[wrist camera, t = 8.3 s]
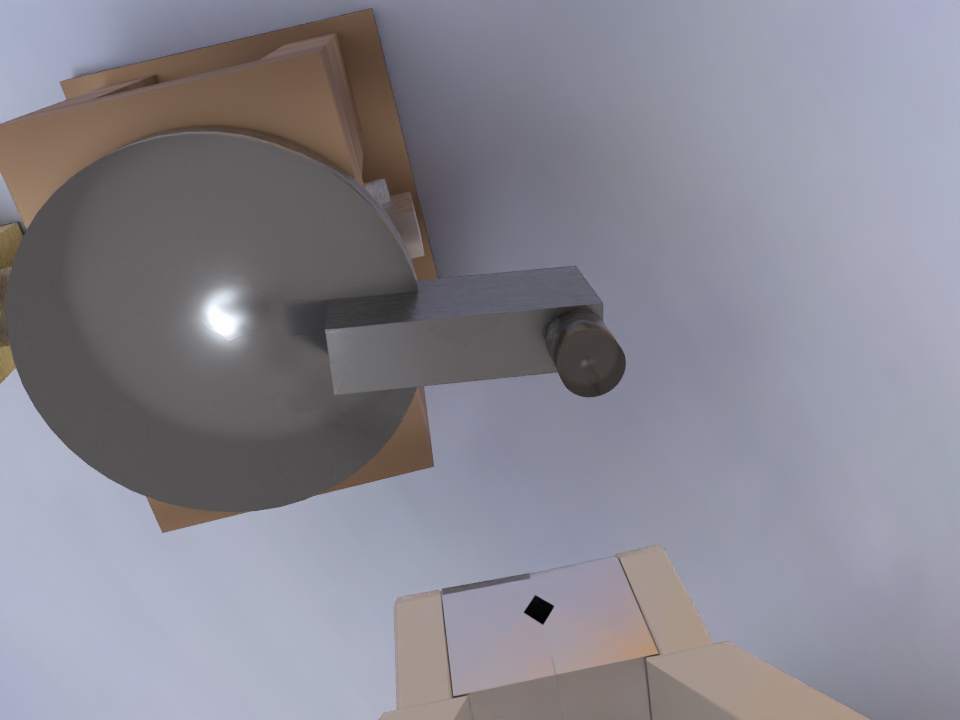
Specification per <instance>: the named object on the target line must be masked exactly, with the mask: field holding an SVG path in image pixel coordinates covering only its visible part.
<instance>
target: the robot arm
mask: <svg viewBox="0 0 960 720" xmlns="http://www.w3.org/2000/svg"><path fill="white" fill-rule="evenodd" d="M394 629H395V663H396V696H397V710H395V711H390V712H386V713H383V714H382V715H381V717H380V718H379V720H870V719H868V718H866V717H864V716H863V715H861V714H859V713H857V712H855V711H853V710H852V709H850V708H848V707H846V706H844V705H843V704H841V703H839V702H837V701H835V700H834V699H832V698H830V697H828V696H826V695H824V694H823V693H821V692H819V691H817V690H815V689H814V688H812V687H810V686H808V685H806V684H804V683H803V682H801V681H799V680H797V679H795V678H794V677H792V676H790V675H788V674H786V673H785V672H783V671H781V670H779V669H777V668H775V667H774V666H772V665H770V664H768V663H766V662H765V661H763V660H761V659H759V658H757V657H756V656H754V655H752V654H750V653H748V652H746V651H745V650H743V649H741V648H739V647H737V646H736V645H734V644H732V643H730V642H722V643H717V644H714V642H713V640H712V638H711V637H710V635H709V633H708V631H707V629H706V627H705V625H704V623H703V621H702V619H701V618H700V616H699V614H698V612H697V610H696V608H695V606H694V604H693V602H692V600H691V599H690V597H689V595H688V593H687V591H686V589H685V587H684V585H683V583H682V581H681V580H680V578H679V576H678V574H677V572H676V570H675V568H674V566H673V564H672V562H671V561H670V559H669V557H668V555H667V553H666V551H665V549H664V548H662V547H661V546H659V545H654V546H650V547H646V548H641V549H637V550H633V551H628V552H624V553H619V554H616V555H615V556H612V557H607V558H603V559H598V560H593V561H588V562H583V563H578V564H574V565H569V566H564V567H559V568H554V569H550V570H545V571H540V572H535V573H530V574H529V573H528V574H522V575H517V576H511V577H506V578H500V579H495V580H489V581H483V582H478V583H472V584H467V585H461V586H456V587H450V588H444V589H442V592H441V591H439V590H436V591H431V592H425V593H420V594H415V595H410V596H404V597H399V598H396V602H395V605H394Z"/></svg>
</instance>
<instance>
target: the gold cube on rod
mask: <svg viewBox="0 0 960 720" xmlns="http://www.w3.org/2000/svg"><path fill="white" fill-rule="evenodd" d="M364 187H365V189H366V190H367V191H368V192H369V193H370V194H371V195H372V197H373V198H374V199H375V200H376V201H377V203H378V204H379V205H380V206H381V207H382V209H383V210H384V211H385V212H386V213H387V215H388V216H389V218H390V220H391V221H392V223H393V224H394V226H395V227H396V229H397V231H398V232H399V234H400V235H401V238H402V240H403V242H404V244H405V246H406V248H407V251H408V253H409V255H410V257H411V259H413V258H417V257H421V256H425V254H424V249H423V244H422V239H421V233H420V229H419V225H418V221H417V217H416V213H415V209H414V205H413V201H412V197H411V193H410V192H405V193H401V194H397V195H393V196H390V193H389V189H388V186H387V182H386V180H385V178H383V179H379V180H375V181H370V182H366V183H364ZM22 237H23V235H22V232H21V230H20V228H19V226H18V224H17V222H16V223H12V224H8V225H4V226H0V384H1V383H2V382H3V381H4V379H5V378H6V377H7V376H8V375H9V374H10V373H11V372H12V371H13V370H14V369H15V368H16V366H15V363H14V360H13V356H12V351H11V347H10V343H9V338H8V330H7V318H6V302H7V288H8V281H9V277H10V273H11V268H12V264H13V260H14V257H15V255H16V252H17V250H18V247H19V245H20V242H21V240H22Z"/></svg>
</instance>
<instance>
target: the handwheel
mask: <svg viewBox="0 0 960 720" xmlns="http://www.w3.org/2000/svg"><path fill="white" fill-rule="evenodd" d="M6 318H7V330H8V338H9V343H10V347H11V351H12V356H13V360H14V363H15V366H16V368H17V371H18V374H19V376H20V379H21V381H22V384H23V386H24V388H25V390H26V392H27V393H28V395H29V397H30V399H31V401H32V403H33V404H34V406H35V408H36V409H37V411H38V412H39V413H40V415H41V416H42V418H43V419H44V420H45V422H46V423H47V425H48V426H49V427H50V429H51V430H52V431H53V432H54V433H55V434H56V435H57V436H58V437H59V438H60V439H61V440H62V442H63V443H64V444H65V445H66V446H67V447H68V448H69V449H70V450H72V451H73V452H74V453H75V454H76V455H77V456H79V457H80V458H81V459H82V460H83V461H85V462H86V463H87V464H88V465H90V466H91V467H93V468H94V469H95V470H97V471H98V472H100V473H101V474H103V475H104V476H106V477H107V478H109V479H111V480H113V481H114V482H116V483H118V484H120V485H122V486H124V487H126V488H128V489H130V490H132V491H134V492H137V493H139V494H142V495H144V496H147V497H150V498H152V499H155V500H157V501H161V502H165V503H169V504H172V505H176V506H180V507H185V508H191V509H197V510H204V511H217V512H244V511H258V510H264V509H270V508H276V507H281V506H285V505H288V504H292V503H295V502H299V501H302V500H305V499H307V498H310V497H312V496H315V495H317V494H319V493H322V492H324V491H326V490H328V489H330V488H332V487H333V486H335V485H337V484H339V483H340V482H342V481H344V480H346V479H347V478H348V477H350V476H351V475H352V474H354V473H355V472H357V471H358V470H359V469H361V468H362V467H363V466H365V465H366V464H367V463H368V462H369V461H370V460H371V459H372V458H373V457H374V456H375V455H376V454H377V453H378V452H379V451H380V450H381V449H382V448H383V447H384V445H385V444H386V443H387V442H388V440H389V439H390V438H391V437H392V435H393V434H394V433H395V431H396V430H397V428H398V426H399V425H400V423H401V421H402V420H403V418H404V416H405V415H406V413H407V411H408V409H409V406H410V404H411V402H412V399H413V397H414V395H415V392H416V389H417V387H419V386H429V385H438V384H448V383H458V382H468V381H478V380H487V379H497V378H507V377H517V376H527V375H536V374H546V373H556V372H558V373H559V376H560V378H561V380H562V382H563V383H564V385H565V386H566V388H567V389H569V390H570V391H571V392H572V393H574V394H576V395H579V396H583V397H596V396H600V395H603V394H605V393H607V392H609V391H610V390H612V389H613V388H614V387H615V386H616V385H617V384H618V383H619V381H620V380H621V378H622V376H623V374H624V371H625V365H626V361H625V355H624V353H623V351H622V349H621V347H620V346H619V344H618V343H617V341H616V340H615V339H614V337H613V336H612V334H611V333H610V331H609V330H608V328H607V327H606V325H605V324H604V323H603V302H602V301H601V300H600V298H599V297H598V296H597V294H596V293H595V291H594V290H593V289H592V287H591V286H590V285H589V283H588V282H587V281H586V279H585V278H584V276H583V275H582V274H581V272H580V271H579V270H578V268H577V267H576V266H569V267H558V268H547V269H536V270H525V271H514V272H503V273H492V274H482V275H471V276H460V277H449V278H438V279H427V280H417V276H416V273H415V270H414V267H413V263H412V260H411V257H410V255H409V253H408V251H407V248H406V246H405V244H404V242H403V240H402V238H401V235H400V234H399V232H398V231H397V229H396V227H395V226H394V224H393V223H392V221H391V220H390V218H389V216H388V215H387V213H386V212H385V211H384V210H383V209H382V207H381V206H380V205H379V204H378V203H377V201H376V200H375V199H374V198H373V197H372V195H371V194H370V193H369V192H368V191H367V190H366V189H365V188H363V187H362V186H361V185H360V184H359V183H358V182H357V181H356V180H355V179H354V178H353V177H352V176H351V175H349V174H348V173H346V172H345V171H344V170H342V169H341V168H339V167H338V166H337V165H335V164H334V163H332V162H331V161H330V160H328V159H326V158H325V157H323V156H321V155H319V154H317V153H315V152H313V151H312V150H310V149H308V148H306V147H304V146H302V145H299V144H297V143H294V142H292V141H289V140H286V139H284V138H281V137H279V136H275V135H271V134H267V133H263V132H259V131H255V130H251V129H244V128H236V127H227V126H192V127H185V128H178V129H171V130H165V131H162V132H158V133H155V134H151V135H148V136H144V137H141V138H138V139H136V140H134V141H132V142H130V143H127V144H125V145H123V146H121V147H118V148H116V149H114V150H113V151H111V152H109V153H108V154H106V155H105V156H103V157H101V158H100V159H98V160H97V161H95V162H93V163H92V164H90V165H89V166H87V167H86V168H84V169H82V170H81V171H79V172H78V173H76V174H75V175H74V176H72V177H71V178H70V179H69V180H68V181H67V182H65V183H64V184H63V185H62V186H61V187H60V188H59V189H57V190H56V191H55V192H54V193H53V194H52V196H51V197H50V198H49V199H48V200H47V201H46V203H45V204H44V205H43V206H42V207H41V209H40V210H39V211H38V212H37V214H36V215H35V217H34V219H33V220H32V222H31V224H30V225H29V227H28V228H27V230H26V232H25V233H24V235H23V237H22V240H21V242H20V245H19V247H18V250H17V252H16V255H15V257H14V260H13V264H12V268H11V273H10V277H9V281H8V288H7V302H6Z"/></svg>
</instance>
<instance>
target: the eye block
mask: <svg viewBox="0 0 960 720" xmlns="http://www.w3.org/2000/svg"><path fill="white" fill-rule="evenodd" d="M60 84H61V87H62V89H63V92H64V94H65V97H66V99H67V100H65V101H62V102H60V103H57V104H54V105H51V106H49V107H46V108H43V109H40V110H38V111H35V112H32V113H29V114H26V115H24V116H21V117H18V118H15V119H13V120H10V121H7V122H4V123H2V124H0V171H1V174H2V176H3V178H4V180H5V183H6V185H7V187H8V189H9V192H10V194H11V196H12V198H13V200H14V203H15V205H16V207H17V209H18V212H19V214H20V216H21V218H22V221H23V223H24V225H25V227H26V229H27V228H28V227H29V225H30V224H31V222H32V220H33V219H34V217H35V215H36V214H37V212H38V211H39V210H40V209H41V207H42V206H43V205H44V204H45V203H46V201H47V200H48V199H49V198H50V197H51V196H52V194H53V193H54V192H55V191H56V190H57V189H59V188H60V187H61V186H62V185H63V184H64V183H65V182H67V181H68V180H69V179H70V178H71V177H72V176H74V175H75V174H76V173H78V172H79V171H81V170H82V169H84V168H86V167H87V166H89V165H90V164H92V163H93V162H95V161H97V160H98V159H100V158H101V157H103V156H105V155H106V154H108V153H109V152H111V151H113V150H114V149H116V148H118V147H121V146H123V145H125V144H127V143H130V142H132V141H134V140H136V139H138V138H141V137H144V136H148V135H151V134H155V133H158V132H162V131H165V130H171V129H178V128H185V127H192V126H227V127H236V128H244V129H251V130H255V131H259V132H263V133H267V134H271V135H275V136H279V137H281V138H284V139H286V140H289V141H292V142H294V143H297V144H299V145H302V146H304V147H306V148H308V149H310V150H312V151H313V152H315V153H317V154H319V155H321V156H323V157H325V158H326V159H328V160H330V161H331V162H332V163H334V164H335V165H337V166H338V167H339V168H341V169H342V170H344V171H345V172H346V173H348V174H349V175H351V176H352V177H353V178H354V179H355V180H356V181H357V182H358V183H359V184H360V185H361V186H362V187H363V188H365V187H364V183H366V182H370V181H375V180H379V179H383V178H385V180H386V182H387V186H388V189H389V193H390V196H393V195H397V194H401V193H405V192H410V193H411V197H412V201H413V205H414V209H415V213H416V217H417V221H418V225H419V229H420V233H421V239H422V244H423V249H424V254H425V256H421V257H417V258H413V259H411V260H412V263H413V267H414V270H415V273H416V276H417V280H427V279H438V276H437V272H436V268H435V264H434V260H433V256H432V252H431V248H430V244H429V239H428V235H427V231H426V227H425V223H424V219H423V215H422V211H421V207H420V203H419V199H418V195H417V191H416V186H415V182H414V178H413V174H412V170H411V166H410V162H409V158H408V154H407V150H406V146H405V142H404V138H403V133H402V129H401V125H400V121H399V117H398V113H397V109H396V105H395V101H394V97H393V93H392V89H391V85H390V80H389V76H388V72H387V68H386V64H385V60H384V56H383V52H382V48H381V44H380V40H379V36H378V31H377V27H376V23H375V19H374V15H373V11H372V8H371V9H367V10H363V11H358V12H354V13H350V14H345V15H341V16H337V17H333V18H328V19H324V20H320V21H315V22H311V23H307V24H303V25H298V26H294V27H290V28H285V29H281V30H277V31H273V32H268V33H264V34H260V35H256V36H251V37H247V38H243V39H238V40H234V41H230V42H226V43H221V44H217V45H213V46H208V47H204V48H200V49H196V50H191V51H187V52H183V53H178V54H174V55H170V56H166V57H161V58H157V59H153V60H149V61H144V62H140V63H136V64H131V65H127V66H123V67H119V68H114V69H110V70H106V71H101V72H97V73H93V74H89V75H84V76H80V77H76V78H72V79H68V80H65V81H62V82H60ZM430 467H434V463H433V455H432V447H431V439H430V431H429V424H428V416H427V408H426V400H425V392H424V386H419V387H417V389H416V392H415V395H414V397H413V399H412V402H411V404H410V406H409V409H408V411H407V413H406V415H405V416H404V418H403V420H402V421H401V423H400V425H399V426H398V428H397V430H396V431H395V433H394V434H393V435H392V437H391V438H390V439H389V440H388V442H387V443H386V444H385V445H384V447H383V448H382V449H381V450H380V451H379V452H378V453H377V454H376V455H375V456H374V457H373V458H372V459H371V460H370V461H369V462H368V463H367V464H366V465H365V466H363V467H362V468H361V469H359V470H358V471H357V472H355V473H354V474H352V475H351V476H350V477H348V478H347V479H346V480H344V481H342V482H340V483H339V484H337V485H335V486H333V487H332V488H330V489H328V490H326V491H324V492H322V493H319V494H324V493H328V492H332V491H336V490H340V489H344V488H348V487H352V486H356V485H360V484H364V483H369V482H373V481H377V480H381V479H385V478H389V477H393V476H397V475H401V474H405V473H409V472H414V471H418V470H422V469H426V468H430ZM319 494H317V495H319ZM146 497H147V496H146ZM147 499H148V502H149V504H150V506H151V508H152V511H153V513H154V515H155V517H156V519H157V522H158V524H159V526H160V528H161V531H162V533H164V532H168V531H172V530H176V529H180V528H185V527H189V526H193V525H197V524H201V523H205V522H209V521H213V520H217V519H221V518H225V517H230V516H234V515H238V514H242V513H246V512H250V511H244V512H217V511H204V510H197V509H191V508H185V507H180V506H176V505H172V504H169V503H165V502H161V501H157V500H155V499H152V498H150V497H147Z"/></svg>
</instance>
